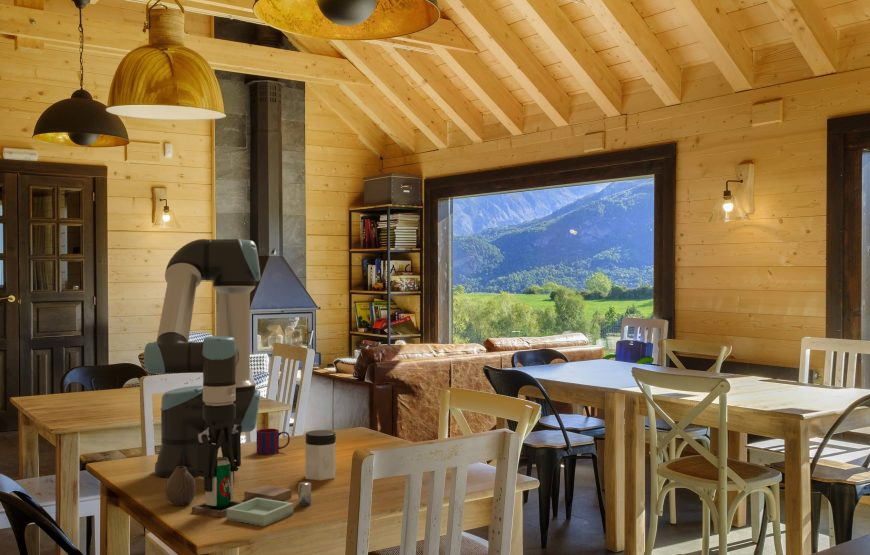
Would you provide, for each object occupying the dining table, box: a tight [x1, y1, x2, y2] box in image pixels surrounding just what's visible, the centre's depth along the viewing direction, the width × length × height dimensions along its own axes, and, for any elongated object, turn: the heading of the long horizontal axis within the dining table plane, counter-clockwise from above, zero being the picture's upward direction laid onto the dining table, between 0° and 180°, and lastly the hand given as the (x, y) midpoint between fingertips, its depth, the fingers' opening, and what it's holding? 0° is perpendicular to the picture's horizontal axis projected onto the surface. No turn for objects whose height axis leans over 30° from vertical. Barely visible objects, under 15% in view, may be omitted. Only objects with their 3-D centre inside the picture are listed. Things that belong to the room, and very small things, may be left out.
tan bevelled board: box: [243, 484, 293, 502], centre depth 209 cm, size 9×7×2 cm
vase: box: [165, 466, 197, 507], centre depth 205 cm, size 7×7×9 cm
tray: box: [226, 498, 294, 527], centre depth 194 cm, size 11×11×2 cm
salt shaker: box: [297, 481, 312, 507], centre depth 204 cm, size 3×3×5 cm
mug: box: [256, 428, 291, 456], centre depth 261 cm, size 7×10×7 cm
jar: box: [304, 429, 337, 481], centre depth 231 cm, size 9×8×12 cm
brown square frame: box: [191, 499, 244, 518], centre depth 199 cm, size 9×9×1 cm
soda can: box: [208, 456, 231, 511], centre depth 199 cm, size 5×5×12 cm
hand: (219, 501), depth 199 cm, fingers closed on soda can, 5 cm apart
